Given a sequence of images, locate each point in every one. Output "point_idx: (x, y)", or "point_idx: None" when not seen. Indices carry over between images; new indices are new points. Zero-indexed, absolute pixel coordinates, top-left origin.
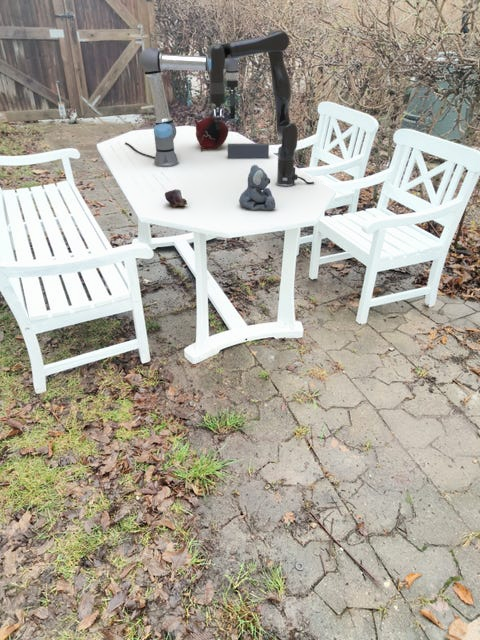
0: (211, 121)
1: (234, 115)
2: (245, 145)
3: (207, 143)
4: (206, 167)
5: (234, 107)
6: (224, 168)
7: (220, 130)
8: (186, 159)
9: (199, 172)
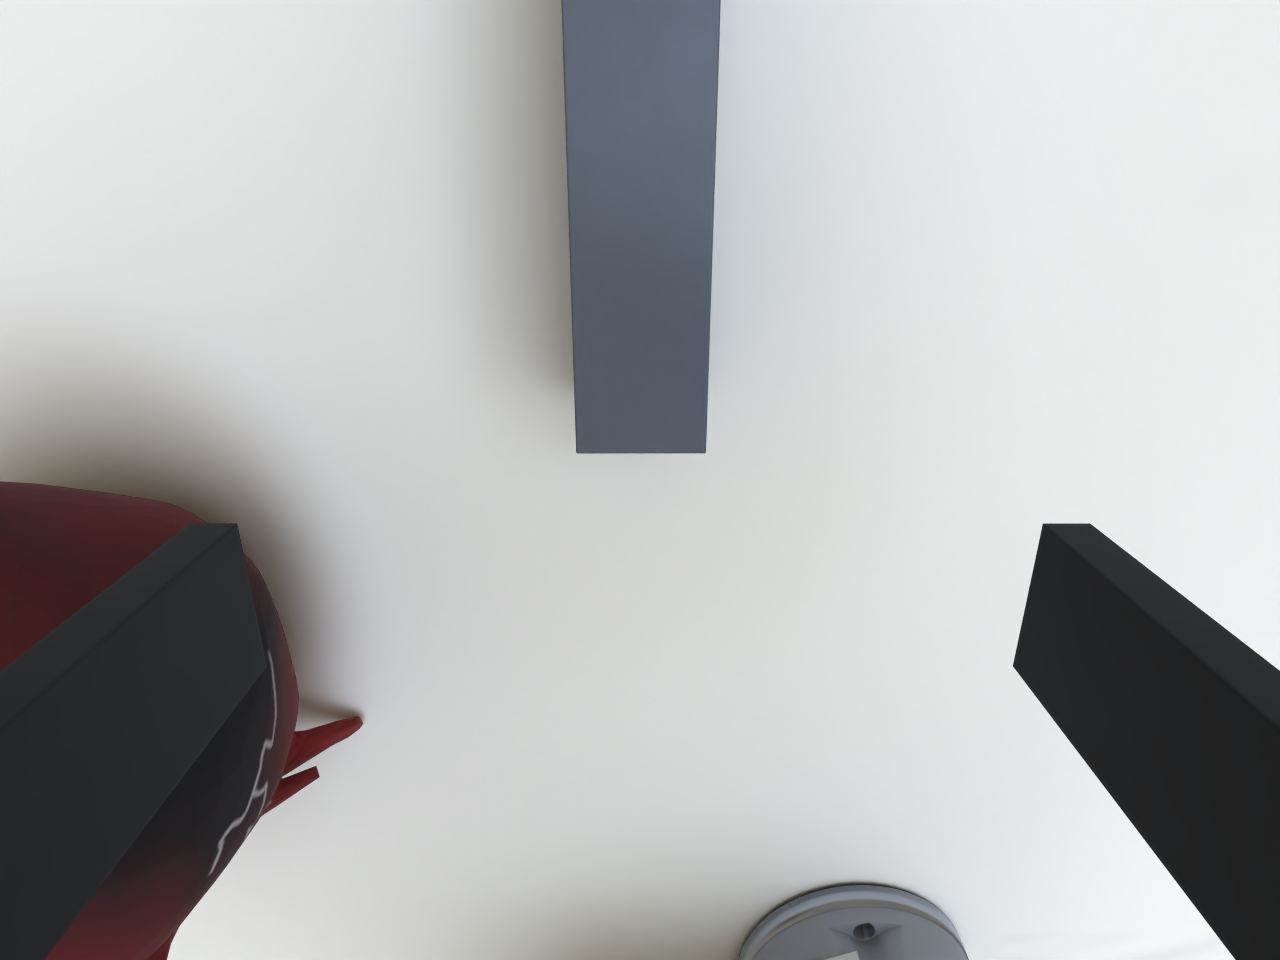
0: None
1: (1172, 590)
2: (716, 118)
3: (296, 714)
4: None
5: (43, 726)
6: (1152, 423)
7: None
8: (707, 828)
9: None
